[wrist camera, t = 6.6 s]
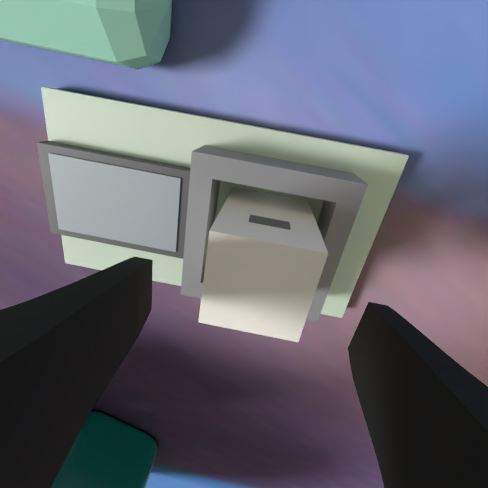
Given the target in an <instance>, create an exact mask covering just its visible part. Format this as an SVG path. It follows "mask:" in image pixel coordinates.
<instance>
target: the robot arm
mask: <svg viewBox="0 0 488 488" xmlns="http://www.w3.org/2000/svg"><path fill="white" fill-rule="evenodd" d="M152 265H153V260H150V259H145V258H140V257H132V258H129V259H127V260H124V261H122V262H120V263H117V264H115V265H113V266H111V267H108V268H106V269H104V270H102V271H99V272H97V273H95V274H93V275H90V276H88V277H86V278H84V279H81V280H79V281H77V282H74V283H72V284H69V285H67V286H64V287H62V288H59V289H57V290H54V291H52V292H49V293H47V294H44V295H42V296H39V297H37V298H34V299H31V300H29V301H26V302H23V303H20V304H17V305H14V306H11V307H8V308H5V309H2V310H0V488H51V487H52V485H53V483H54V481H55V479H56V477H57V475H58V473H59V471H60V469H61V467H62V465H63V463H64V461H65V459H66V457H67V455H68V453H69V451H70V449H71V447H72V445H73V444H74V442H75V440H76V438H77V436H78V434H79V432H80V430H81V428H82V426H83V425H84V423H85V421H86V419H87V417H88V415H89V413H90V412H91V410H92V408H93V407H94V405H95V403H96V402H97V400H98V398H99V397H100V395H101V394H102V392H103V391H104V389H105V387H106V386H107V384H108V383H109V381H110V380H111V378H112V377H113V375H114V374H115V372H116V370H117V369H118V367H119V366H120V364H121V363H122V361H123V360H124V358H125V357H126V355H127V353H128V352H129V350H130V349H131V347H132V346H133V344H134V342H135V341H136V339H137V338H138V336H139V334H140V332H141V330H142V328H143V326H144V324H145V322H146V320H147V317H148V315H149V313H150V311H151V304H152ZM348 351H349V357H350V364H351V370H352V375H353V380H354V383H355V387H356V390H357V393H358V397H359V400H360V403H361V407H362V410H363V413H364V416H365V420H366V423H367V426H368V429H369V433H370V436H371V439H372V442H373V446H374V449H375V452H376V455H377V459H378V463H379V467H380V470H381V474H382V479H383V483H384V488H488V387H487V386H486V385H485V384H483V383H482V382H481V381H479V380H478V379H477V378H476V377H474V376H473V375H472V374H470V373H469V372H468V371H467V370H465V369H464V368H463V367H462V366H460V365H459V364H458V363H457V362H456V361H454V360H453V359H452V358H451V357H449V356H448V355H447V354H446V353H445V352H443V351H442V350H441V349H440V348H439V347H437V346H436V345H435V344H434V343H433V342H432V341H430V340H429V339H428V338H427V337H426V336H425V335H423V334H422V333H421V332H420V331H419V330H417V329H416V328H415V327H414V326H413V325H412V324H410V323H409V322H408V321H407V320H406V319H404V318H403V317H402V316H401V315H399V314H398V313H397V312H396V311H394V310H393V309H391V308H390V307H389V306H386V305H381V304H376V303H371V302H369V303H368V305H367V307H366V309H365V312H364V314H363V316H362V318H361V320H360V323H359V325H358V327H357V329H356V331H355V334H354V336H353V338H352V340H351V342H350V345H349V347H348Z"/></svg>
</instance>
